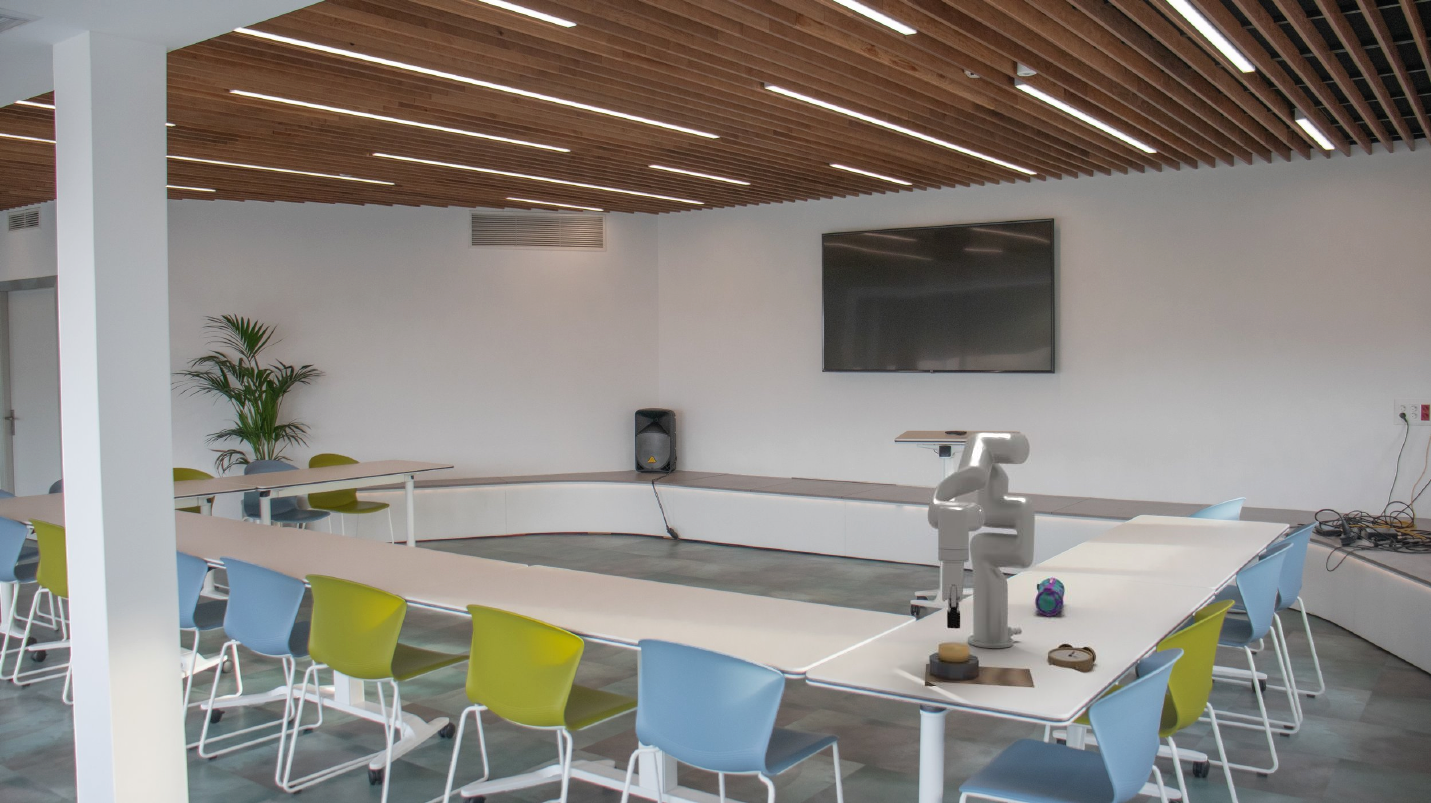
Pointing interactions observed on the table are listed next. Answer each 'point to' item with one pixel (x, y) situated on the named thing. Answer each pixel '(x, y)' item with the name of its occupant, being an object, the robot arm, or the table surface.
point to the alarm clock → (1072, 657)
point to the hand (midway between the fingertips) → (953, 626)
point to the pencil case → (1049, 596)
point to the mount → (991, 677)
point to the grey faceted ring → (954, 668)
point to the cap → (953, 652)
